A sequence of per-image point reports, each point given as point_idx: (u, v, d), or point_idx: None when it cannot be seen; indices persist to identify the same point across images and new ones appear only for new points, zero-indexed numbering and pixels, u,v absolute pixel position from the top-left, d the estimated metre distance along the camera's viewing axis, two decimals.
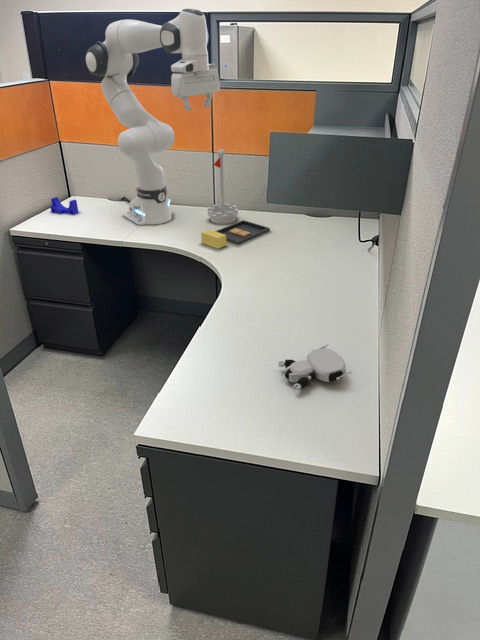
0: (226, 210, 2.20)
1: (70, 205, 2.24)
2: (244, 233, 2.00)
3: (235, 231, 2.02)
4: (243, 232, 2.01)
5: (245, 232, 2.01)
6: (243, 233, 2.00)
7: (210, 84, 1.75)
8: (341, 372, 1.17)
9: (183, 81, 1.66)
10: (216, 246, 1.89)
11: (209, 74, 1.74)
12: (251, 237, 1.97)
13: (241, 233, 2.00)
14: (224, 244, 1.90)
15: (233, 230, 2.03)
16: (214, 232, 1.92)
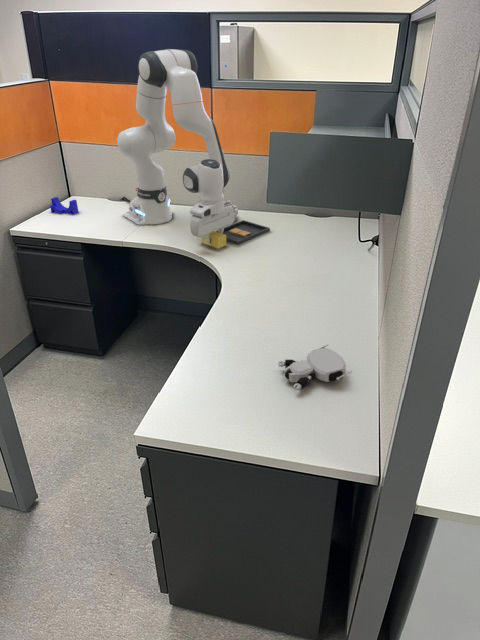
0: None
1: (70, 205, 2.24)
2: (244, 233, 2.00)
3: (235, 231, 2.02)
4: (243, 232, 2.01)
5: (245, 232, 2.01)
6: (243, 233, 2.00)
7: (225, 219, 1.90)
8: (341, 372, 1.17)
9: (201, 224, 1.81)
10: (216, 246, 1.89)
11: (225, 211, 1.88)
12: (251, 237, 1.97)
13: (241, 233, 2.00)
14: (224, 244, 1.90)
15: (233, 230, 2.03)
16: (214, 232, 1.92)
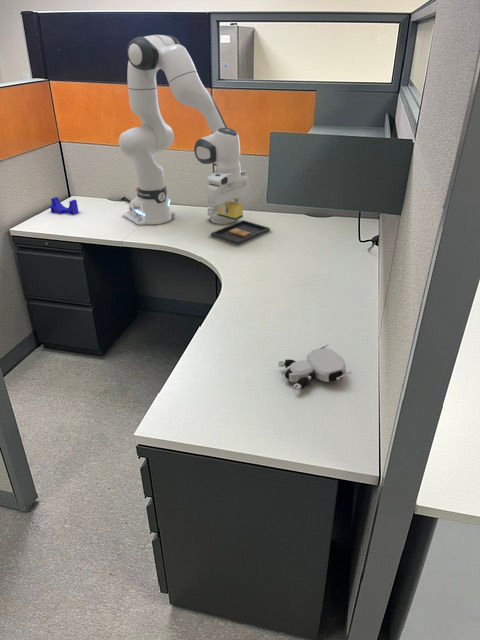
0: None
1: (70, 205, 2.24)
2: (244, 233, 2.00)
3: (235, 231, 2.02)
4: (243, 232, 2.01)
5: (245, 232, 2.01)
6: (243, 233, 2.00)
7: (241, 189, 1.91)
8: (341, 372, 1.17)
9: (218, 192, 1.82)
10: (233, 216, 1.89)
11: (241, 181, 1.89)
12: (251, 237, 1.97)
13: (241, 233, 2.00)
14: (240, 214, 1.91)
15: (233, 230, 2.03)
16: (230, 202, 1.93)
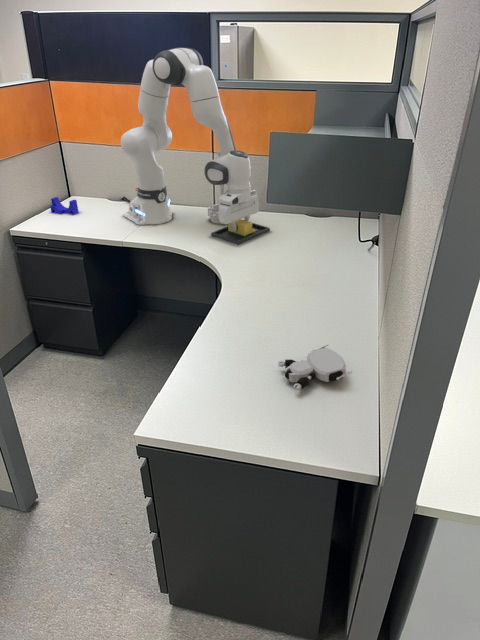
0: None
1: (70, 205, 2.24)
2: None
3: None
4: None
5: (252, 229, 2.03)
6: None
7: (251, 208, 1.99)
8: (341, 372, 1.17)
9: (229, 211, 1.90)
10: (243, 233, 1.98)
11: (251, 200, 1.97)
12: (251, 237, 1.97)
13: None
14: (250, 232, 1.99)
15: None
16: (240, 220, 2.01)
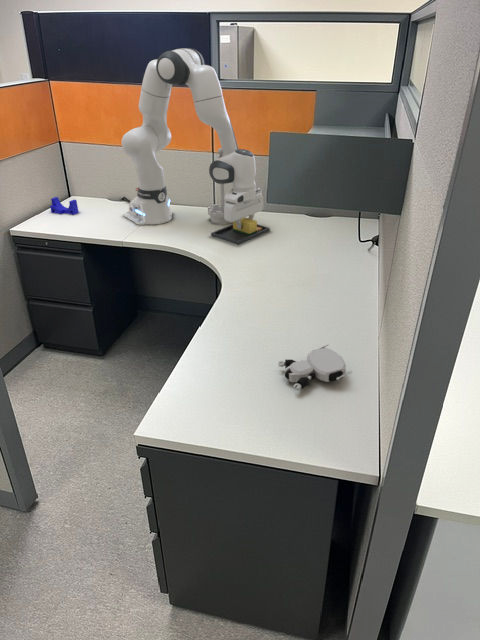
0: None
1: (70, 205, 2.24)
2: None
3: None
4: None
5: (257, 227, 2.05)
6: None
7: (255, 206, 2.01)
8: (341, 372, 1.17)
9: (234, 209, 1.92)
10: (247, 231, 2.00)
11: (255, 198, 1.99)
12: (251, 237, 1.97)
13: None
14: (255, 230, 2.01)
15: None
16: (245, 218, 2.03)
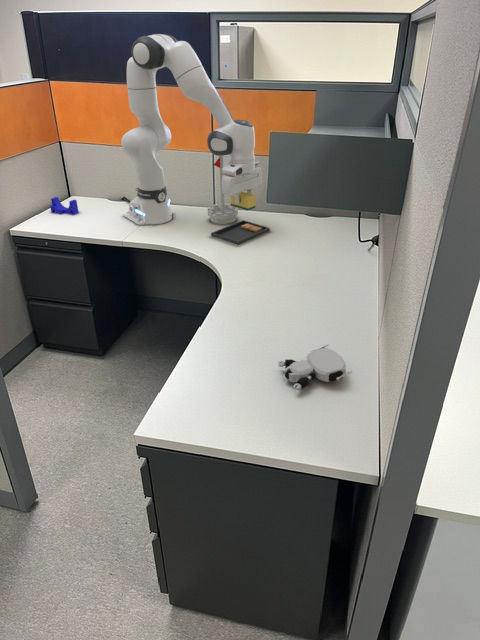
0: (226, 210, 2.20)
1: (70, 205, 2.24)
2: (256, 228, 2.04)
3: (247, 226, 2.06)
4: (255, 227, 2.05)
5: (257, 227, 2.05)
6: (255, 228, 2.04)
7: (254, 180, 1.95)
8: (341, 372, 1.17)
9: (233, 182, 1.86)
10: (246, 206, 1.94)
11: (254, 172, 1.94)
12: (251, 237, 1.97)
13: (253, 228, 2.04)
14: (253, 204, 1.96)
15: (245, 225, 2.07)
16: (243, 192, 1.97)
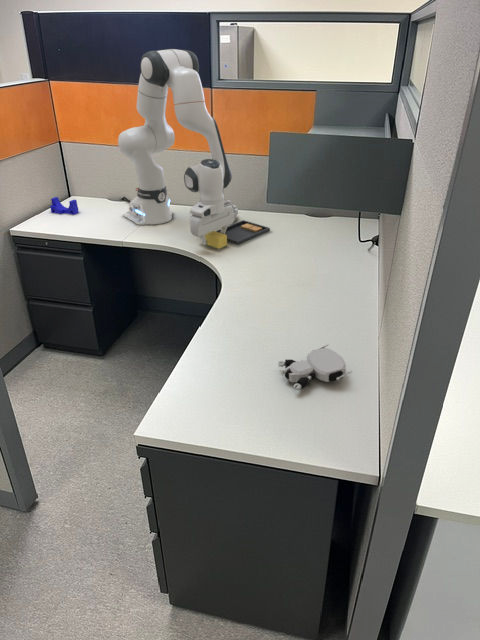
0: None
1: (70, 205, 2.24)
2: (256, 228, 2.04)
3: (247, 226, 2.06)
4: (255, 227, 2.05)
5: (257, 227, 2.05)
6: (255, 228, 2.04)
7: (225, 219, 1.90)
8: (341, 372, 1.17)
9: (201, 223, 1.81)
10: (217, 246, 1.89)
11: (225, 211, 1.88)
12: (251, 237, 1.97)
13: (253, 228, 2.04)
14: (225, 244, 1.90)
15: (245, 225, 2.07)
16: (214, 232, 1.92)
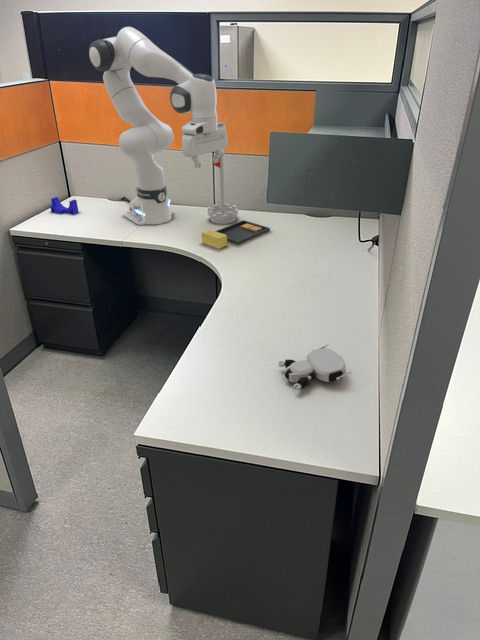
0: (226, 210, 2.20)
1: (70, 205, 2.24)
2: (256, 228, 2.04)
3: (247, 226, 2.06)
4: (255, 227, 2.05)
5: (257, 227, 2.05)
6: (255, 228, 2.04)
7: (218, 142, 1.82)
8: (341, 372, 1.17)
9: (193, 142, 1.73)
10: (217, 246, 1.89)
11: (218, 133, 1.80)
12: (251, 237, 1.97)
13: (253, 228, 2.04)
14: (225, 244, 1.90)
15: (245, 225, 2.07)
16: (214, 232, 1.92)
